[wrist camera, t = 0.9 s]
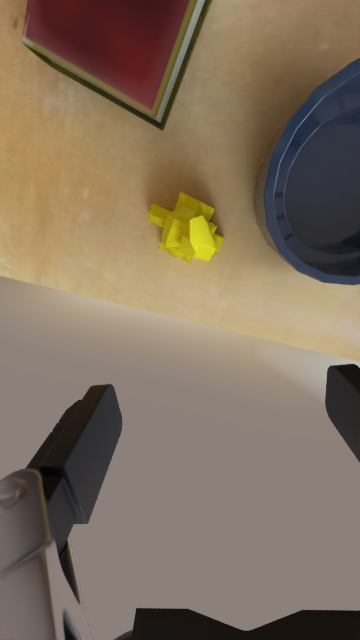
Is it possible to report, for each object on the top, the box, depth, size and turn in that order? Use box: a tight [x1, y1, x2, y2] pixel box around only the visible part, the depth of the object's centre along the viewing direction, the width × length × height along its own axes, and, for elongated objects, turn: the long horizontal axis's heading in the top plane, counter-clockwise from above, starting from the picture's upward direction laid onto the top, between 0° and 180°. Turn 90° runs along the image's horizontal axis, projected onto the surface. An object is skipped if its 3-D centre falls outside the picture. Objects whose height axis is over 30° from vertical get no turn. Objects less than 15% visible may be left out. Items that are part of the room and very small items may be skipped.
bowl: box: [254, 58, 360, 285], centre depth 22 cm, size 16×16×6 cm
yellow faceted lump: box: [148, 192, 224, 263], centre depth 24 cm, size 6×8×8 cm
